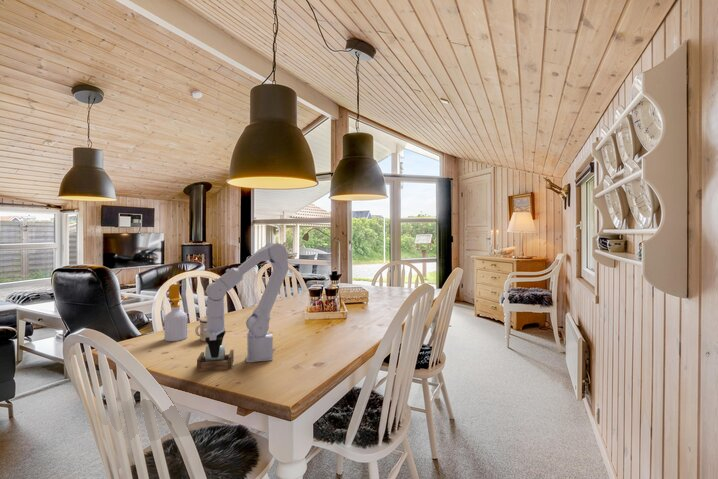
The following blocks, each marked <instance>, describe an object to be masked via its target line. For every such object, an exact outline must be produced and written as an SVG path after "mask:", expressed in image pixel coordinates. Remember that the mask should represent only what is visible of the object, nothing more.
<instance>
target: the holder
mask: <svg viewBox="0 0 718 479" xmlns="http://www.w3.org/2000/svg"><path fill="white" fill-rule="evenodd" d="M234 356H235V354H234V349H230V351H229V353H227V354H226V353H225V359H224V360H213V361H206V360H205V351H201V353H200V354H199V356H198V358H197V359H196V372H199V373H200V372H209V371H211V372H212V371H219V370H231V369H232V368H233V364H234Z"/></svg>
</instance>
